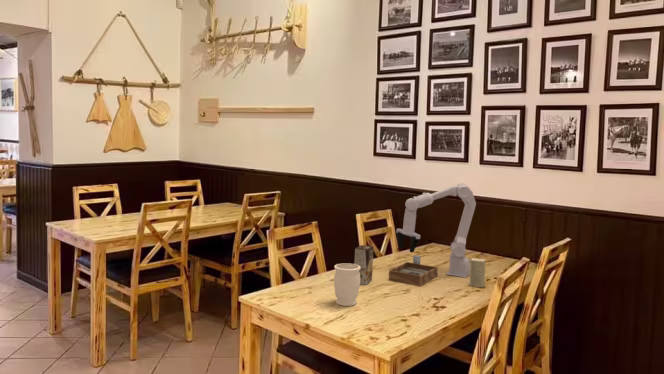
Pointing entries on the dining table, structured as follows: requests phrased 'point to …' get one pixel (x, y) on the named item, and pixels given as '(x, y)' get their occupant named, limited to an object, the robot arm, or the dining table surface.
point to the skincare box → (477, 272)
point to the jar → (346, 283)
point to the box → (413, 273)
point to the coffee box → (364, 263)
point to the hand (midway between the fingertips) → (406, 250)
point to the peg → (416, 259)
